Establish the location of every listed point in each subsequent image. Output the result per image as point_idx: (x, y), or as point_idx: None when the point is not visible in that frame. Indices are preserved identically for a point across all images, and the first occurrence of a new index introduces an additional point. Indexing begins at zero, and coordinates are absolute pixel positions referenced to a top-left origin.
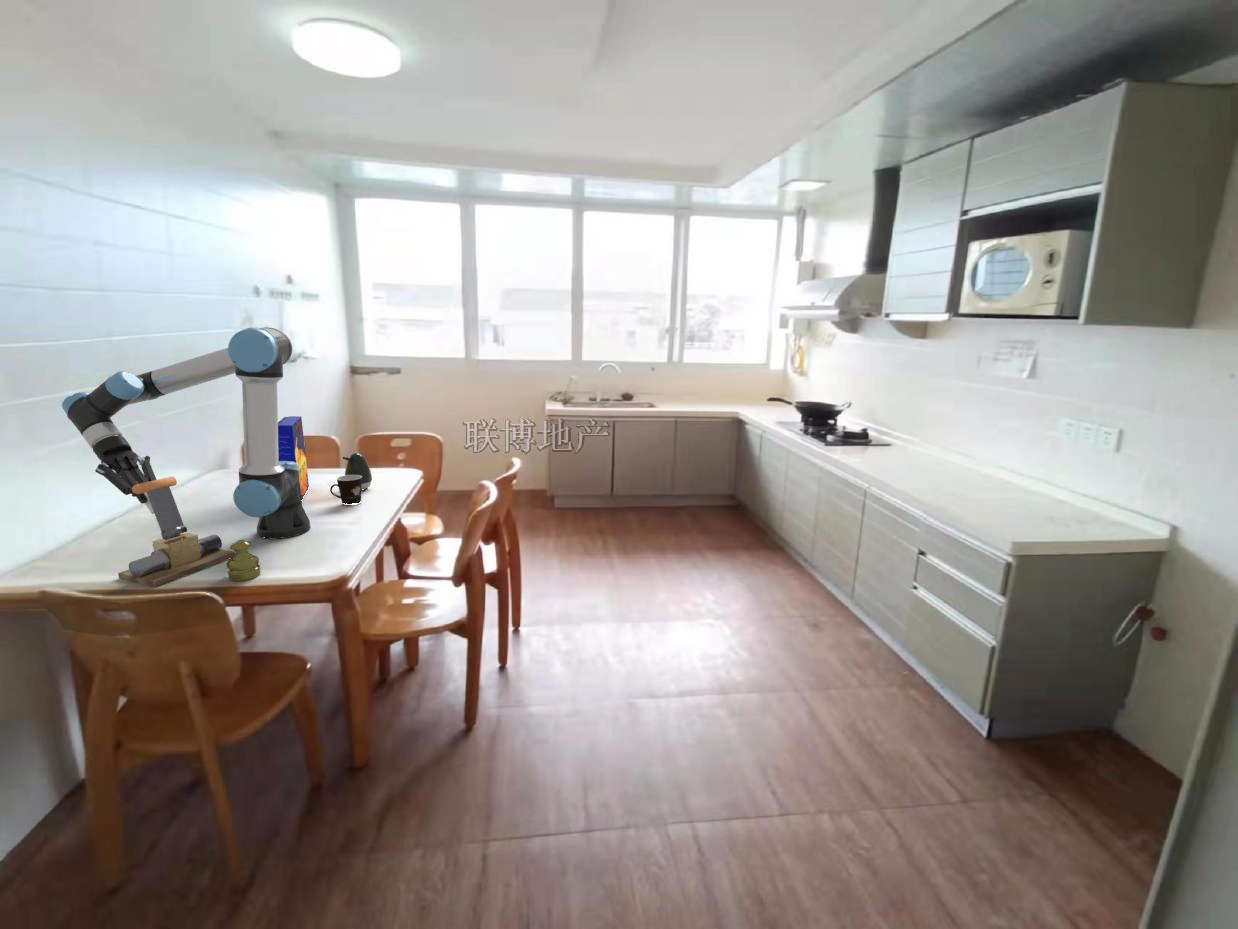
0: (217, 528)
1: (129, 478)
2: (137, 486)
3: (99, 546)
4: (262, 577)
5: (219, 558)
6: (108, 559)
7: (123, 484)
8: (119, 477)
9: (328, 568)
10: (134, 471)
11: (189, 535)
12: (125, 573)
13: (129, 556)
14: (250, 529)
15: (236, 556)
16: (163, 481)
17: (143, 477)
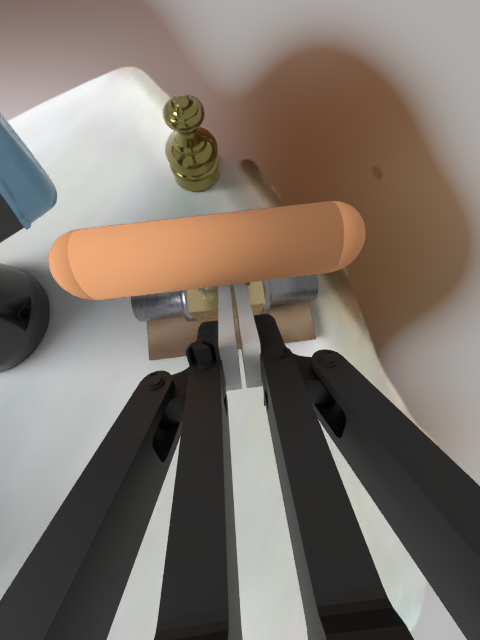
0: (38, 484)
1: (318, 443)
2: (347, 205)
3: (250, 612)
4: None
5: None
6: (278, 478)
7: (371, 386)
8: (417, 468)
9: (115, 96)
10: (230, 579)
11: None
12: (308, 324)
13: (247, 457)
14: (14, 400)
15: (200, 131)
16: (170, 219)
17: (199, 438)
